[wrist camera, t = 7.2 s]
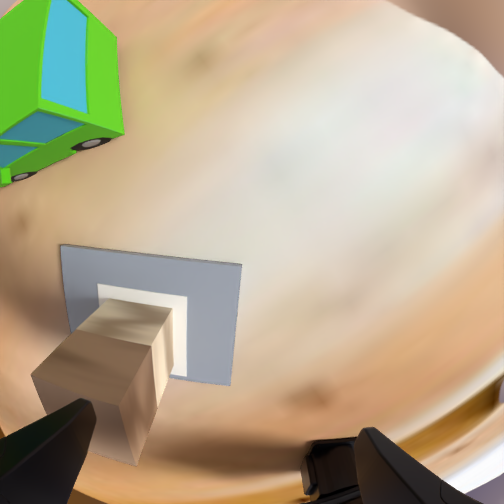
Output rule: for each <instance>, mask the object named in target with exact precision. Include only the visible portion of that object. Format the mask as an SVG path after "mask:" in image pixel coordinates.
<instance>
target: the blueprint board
mask: <svg viewBox="0 0 504 504" xmlns="http://www.w3.org/2000/svg"><path fill="white" fill-rule="evenodd" d="M61 262H62V274H63V284H64V292H65V300H66V307H67V313H68V319H69V325H70V331H71V334H72V333H73V332H74V331H75V330H76V328H78V327H79V326H80V325H81V324H82V323H83V322H84V321H85V320H86V319H87V318H88V317H89V316H90V315H91V314H93V313H94V312H95V311H96V310H97V309H98V308H99V307H100V306H101V305H102V304H103V303H105V302H106V301H107V300H108V299H109V298H112V299H117V300H123V301H129V302H135V303H141V304H148V305H154V306H161V307H168V308H173V357H174V366H173V368H172V371H171V374H170V376H169V378H174V379H180V380H186V381H193V382H200V383H208V384H216V385H225V386H230V384H231V373H232V362H233V351H234V341H235V330H236V320H237V310H238V300H239V290H240V280H241V270H242V264H235V263H226V262H216V261H207V260H197V259H188V258H179V257H170V256H161V255H152V254H143V253H135V252H126V251H118V250H109V249H101V248H93V247H84V246H76V245H68V244H64V245H61Z"/></svg>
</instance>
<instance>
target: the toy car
mask: <svg viewBox="0 0 504 504" xmlns="http://www.w3.org/2000/svg"><path fill="white" fill-rule="evenodd" d="M122 135H125V134H124V126H123V118H122V109H121V100H120V89H119V76H118V60H117V37H116V36H115V35H114V34H113V33H112V32H111V31H110V30H108V29H107V28H106V27H105V26H104V25H103V24H102V23H101V22H100V21H99V20H98V19H97V18H96V17H95V16H94V15H93V14H92V13H91V12H90V11H89V10H87V9H86V8H85V7H84V6H83V5H82V4H81V3H80V2H79V1H78V0H24V1H22V2H21V3H20V4H18V5H17V6H16V7H14V8H13V9H12V10H11V11H9V12H8V13H7V14H6V15H5V16H3V17H2V18H1V19H0V187H5V186H7V185H9V184H11V183H13V182H14V181H19V180H23V179H26V178H28V177H30V176H32V175H34V174H36V173H37V171H38V170H41V169H43V168H45V167H47V166H49V165H51V164H53V163H55V162H57V161H59V160H62V159H64V158H66V157H68V156H71V155H73V154H75V153H76V150H84V149H90V148H94V147H97V146H100V145H102V144H105V143H107V142H109V141H110V140H111V139H113V138H116V137H119V136H122Z"/></svg>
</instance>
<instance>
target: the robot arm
mask: <svg viewBox="0 0 504 504" xmlns="http://www.w3.org/2000/svg"><path fill="white" fill-rule="evenodd" d="M96 422H97V417H96V413H95V410H94V407H93V404H92V402H91V401H90V400H87V399H84V398H79V399H77V400H75V401H73V402H71V403H69V404H67V405H66V406H64V407H62V408H60V409H58V410H56V411H54V412H53V413H51V414H49V415H47V416H45V417H43V418H41V419H39V420H37V421H35V422H33V423H31V424H29V425H28V426H26V427H24V428H22V429H20V430H18V431H16V432H14V433H12V434H10V435H8V436H7V437H3V438H1V439H0V504H67V502H68V499H69V497H70V494H71V492H72V489H73V487H74V484H75V482H76V479H77V477H78V474H79V472H80V470H81V467H82V465H83V463H84V460H85V458H86V455H87V452H88V448H89V445H90V442H91V438H92V435H93V432H94V428H95V425H96ZM300 469H301V476H302V482H303V488H304V494H305V495H310V500H311V502H307V503H300V504H483V503H481V502H479V501H477V500H475V499H473V498H471V497H469V496H467V495H465V494H463V493H462V492H460V491H458V490H457V489H455V488H454V487H452V486H451V485H449V484H448V483H446V482H445V481H443V480H441V478H439V477H438V476H437V475H435V474H434V473H432V472H431V471H430V470H428V469H427V468H426V467H424V466H423V465H422V464H420V463H419V462H418V461H417V460H415V459H414V458H413V457H411V456H410V455H409V454H407V453H406V452H405V451H404V450H402V449H401V448H400V447H399V446H397V445H396V444H395V443H394V442H392V441H391V440H390V439H389V438H387V437H386V436H385V435H384V434H382V433H381V432H380V431H379V430H377V429H376V428H375V427H367V428H363V429H362V430H361V431H360V433H359V435H358V437H357V438H351V439H340V440H327V441H316V442H314V443H313V444H312V446H311V448H310V451H309V453H308V455H307V456H306V457H305V458H304V460H303V463H302V465H301V467H300Z"/></svg>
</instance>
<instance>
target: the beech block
mask: <svg viewBox="0 0 504 504" xmlns="http://www.w3.org/2000/svg"><path fill="white" fill-rule="evenodd" d="M76 329H78V330H82V331H86V332H90V333H94V334H98V335H102V336H106V337H111V338H115V339H120V340H124V341H129V342H134V343H139V344H144V345H149V346H152V359H153V371H154V381H155V390H156V399H157V407H158V405H159V402H160V400H161V397H162V394H163V392H164V389H165V387H166V384H167V381H168V379H169V376H170V374H171V371H172V368H173V366H174V357H173V308H168V307H161V306H154V305H148V304H141V303H135V302H129V301H123V300H117V299H112V298H109V299H108V300H107V301H106V302H105V303H103V304H102V305H101V306H100V307H99V308H98V309H97V310H96V311H95V312H94V313H93V314H91V315H90V316H89V317H88V318H87V319H86V320H85V321H84V322H83V323H82V324H81V325H80V326H79V327H78V328H76Z"/></svg>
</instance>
